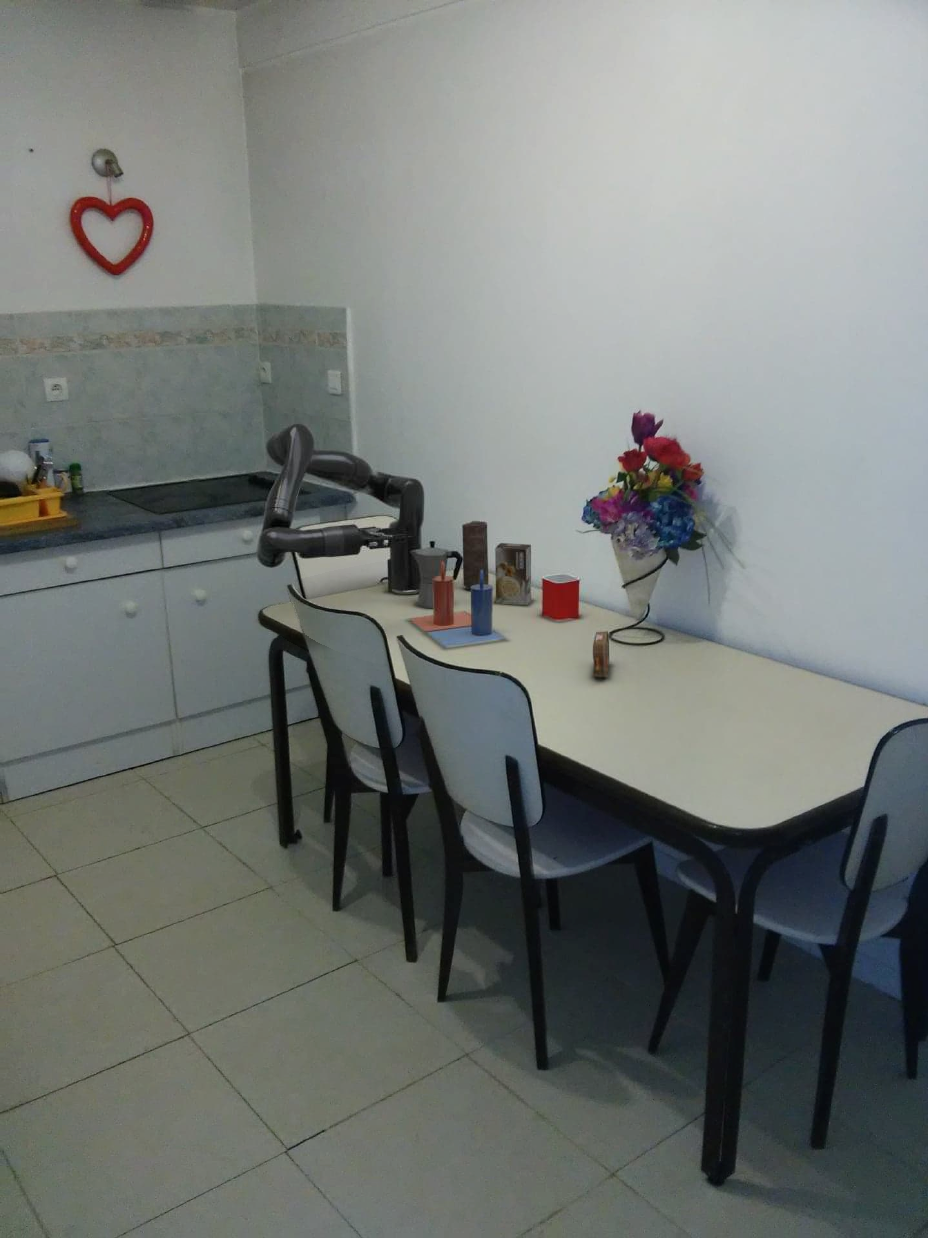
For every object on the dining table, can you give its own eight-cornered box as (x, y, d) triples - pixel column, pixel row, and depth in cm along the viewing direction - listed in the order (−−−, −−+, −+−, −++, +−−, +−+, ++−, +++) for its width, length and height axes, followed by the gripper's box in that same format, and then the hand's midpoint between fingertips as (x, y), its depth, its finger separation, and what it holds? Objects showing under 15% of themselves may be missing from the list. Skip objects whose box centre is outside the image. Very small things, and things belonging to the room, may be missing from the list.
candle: (470, 593, 307) (469, 525, 301) (458, 587, 313) (457, 520, 307) (493, 590, 310) (493, 522, 305) (480, 584, 317) (480, 518, 311)
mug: (582, 617, 283) (583, 579, 280) (557, 622, 279) (557, 583, 276) (555, 607, 293) (555, 569, 290) (530, 612, 288) (530, 573, 285)
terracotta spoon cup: (430, 624, 276) (428, 562, 272) (438, 618, 281) (437, 558, 276) (449, 626, 274) (448, 564, 270) (457, 621, 279) (456, 559, 274)
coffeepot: (404, 606, 295) (403, 542, 289) (417, 597, 303) (416, 535, 298) (457, 611, 290) (456, 546, 284) (468, 602, 298) (468, 539, 293)
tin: (605, 683, 235) (606, 646, 233) (590, 682, 236) (591, 646, 234) (609, 661, 250) (611, 626, 247) (596, 660, 250) (597, 625, 248)
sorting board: (445, 649, 259) (445, 646, 259) (409, 620, 282) (408, 617, 282) (505, 640, 265) (505, 637, 265) (464, 613, 288) (464, 610, 288)
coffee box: (532, 599, 300) (532, 544, 295) (526, 606, 294) (527, 549, 289) (500, 597, 302) (500, 542, 298) (494, 603, 297) (494, 547, 292)
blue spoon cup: (467, 634, 268) (467, 571, 263) (475, 628, 273) (475, 566, 268) (487, 637, 266) (487, 573, 261) (495, 630, 271) (495, 568, 266)
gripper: (346, 531, 253) (410, 525, 259) (330, 520, 266) (391, 515, 272) (347, 562, 256) (411, 555, 262) (331, 549, 268) (392, 543, 274)
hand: (401, 534), depth 267 cm, fingers open, 8 cm apart
